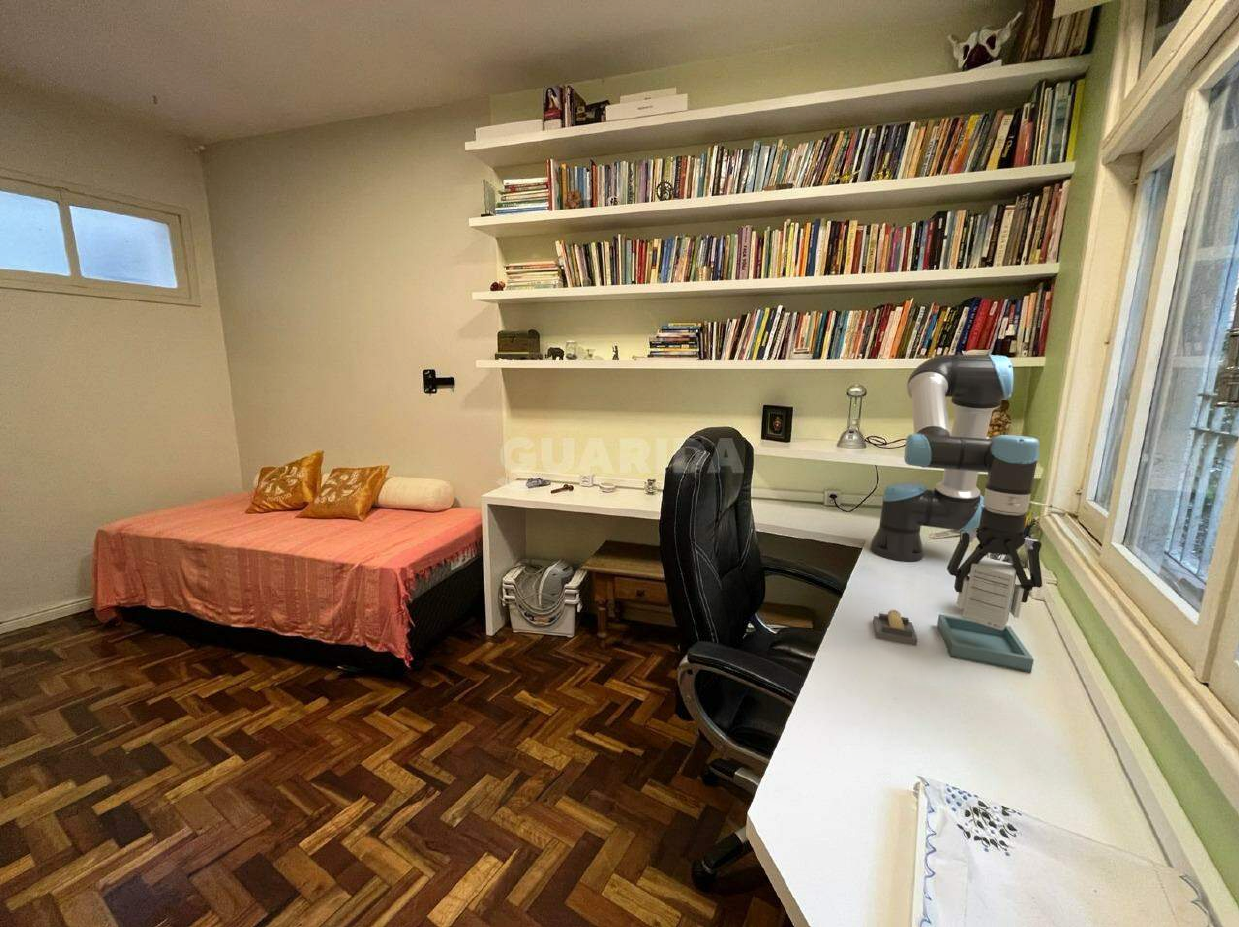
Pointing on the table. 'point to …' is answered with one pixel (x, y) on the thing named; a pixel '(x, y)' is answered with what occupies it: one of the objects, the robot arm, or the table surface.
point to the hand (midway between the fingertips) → (986, 610)
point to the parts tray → (983, 644)
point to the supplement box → (990, 593)
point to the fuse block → (894, 628)
